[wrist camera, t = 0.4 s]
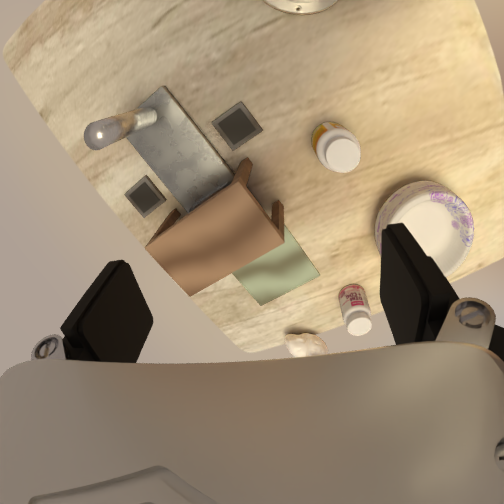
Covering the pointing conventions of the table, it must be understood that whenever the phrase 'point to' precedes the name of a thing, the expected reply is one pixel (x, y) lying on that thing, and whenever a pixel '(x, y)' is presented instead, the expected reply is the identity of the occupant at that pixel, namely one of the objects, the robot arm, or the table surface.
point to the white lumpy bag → (305, 345)
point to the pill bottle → (355, 309)
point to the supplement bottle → (336, 147)
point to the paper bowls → (431, 222)
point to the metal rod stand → (167, 147)
